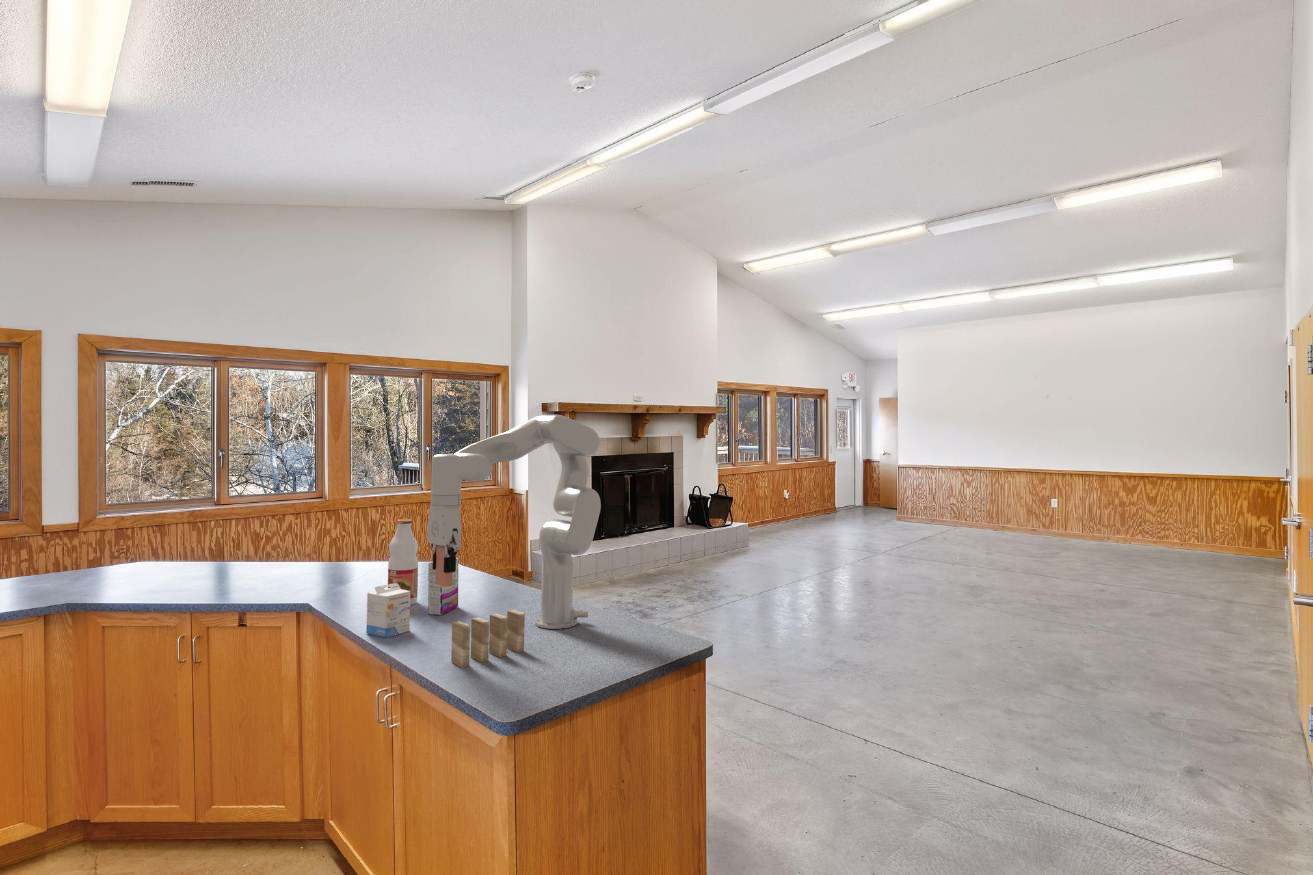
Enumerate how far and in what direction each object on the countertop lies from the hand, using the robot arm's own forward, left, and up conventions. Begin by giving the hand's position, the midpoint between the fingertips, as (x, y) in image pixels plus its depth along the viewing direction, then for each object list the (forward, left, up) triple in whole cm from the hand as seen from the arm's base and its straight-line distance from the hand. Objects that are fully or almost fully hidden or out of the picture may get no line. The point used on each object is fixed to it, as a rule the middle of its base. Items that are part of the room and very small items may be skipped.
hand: (444, 569), depth 177 cm
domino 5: (-19, +1, -22) cm, 29 cm away
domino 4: (-14, +4, -22) cm, 26 cm away
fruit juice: (+18, -53, -22) cm, 60 cm away
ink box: (+17, -20, -22) cm, 34 cm away
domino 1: (0, 0, -4) cm, 4 cm away
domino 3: (-10, +7, -22) cm, 25 cm away
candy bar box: (+4, -42, -22) cm, 48 cm away
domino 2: (-5, +10, -22) cm, 24 cm away
